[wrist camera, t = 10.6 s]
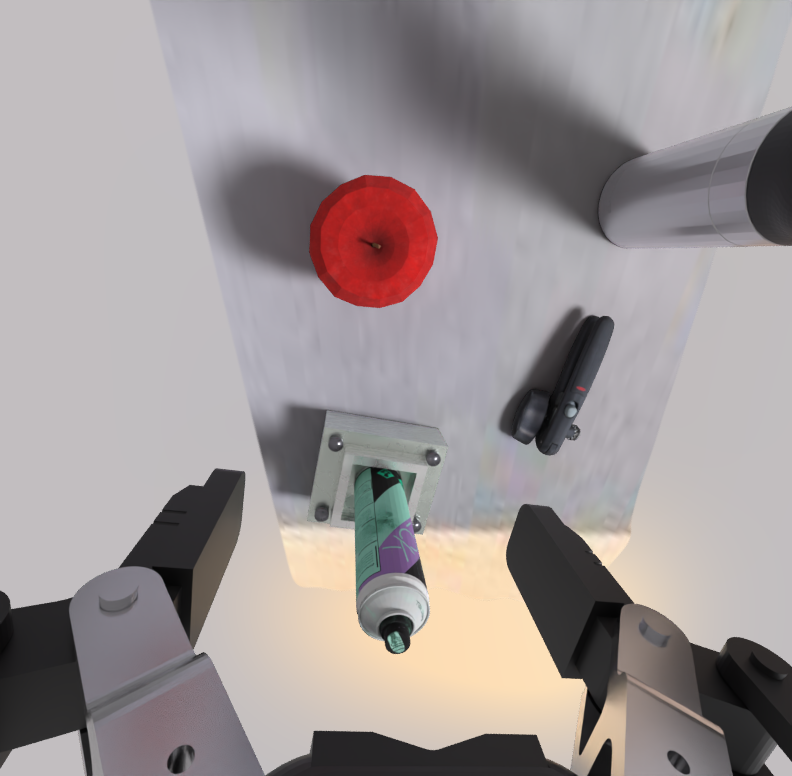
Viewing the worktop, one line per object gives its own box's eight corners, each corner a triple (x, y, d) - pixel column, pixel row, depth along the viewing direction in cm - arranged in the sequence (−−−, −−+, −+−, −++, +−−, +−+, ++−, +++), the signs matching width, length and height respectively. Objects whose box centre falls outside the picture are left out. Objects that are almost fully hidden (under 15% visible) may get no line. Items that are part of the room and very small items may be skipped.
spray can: (382, 511, 47) (404, 685, 28) (344, 488, 45) (340, 656, 27) (411, 477, 46) (454, 635, 27) (373, 453, 44) (391, 601, 26)
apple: (400, 179, 40) (425, 145, 28) (427, 278, 44) (460, 289, 31) (301, 211, 40) (280, 192, 28) (336, 308, 44) (332, 331, 31)
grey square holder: (438, 428, 50) (453, 457, 43) (416, 509, 53) (426, 548, 46) (326, 409, 47) (323, 437, 40) (310, 496, 51) (304, 535, 44)
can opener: (545, 448, 53) (567, 469, 48) (501, 430, 51) (518, 451, 46) (618, 325, 49) (652, 334, 43) (572, 302, 47) (601, 308, 42)
